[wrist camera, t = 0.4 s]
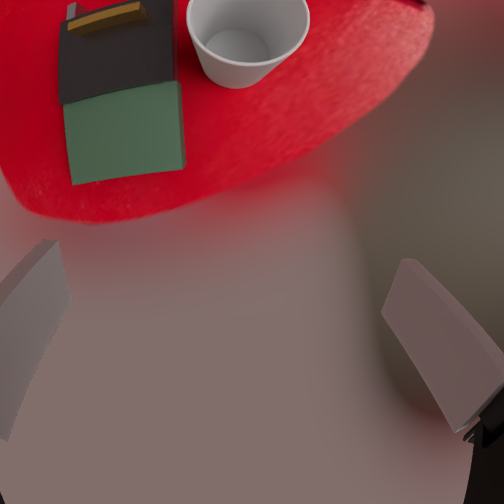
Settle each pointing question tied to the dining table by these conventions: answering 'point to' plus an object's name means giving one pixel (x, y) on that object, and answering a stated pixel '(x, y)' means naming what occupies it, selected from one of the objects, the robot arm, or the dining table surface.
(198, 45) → the cup
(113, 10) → the cover
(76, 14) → the bracket
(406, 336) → the robot arm
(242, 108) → the dining table surface
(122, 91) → the green rectangular box
